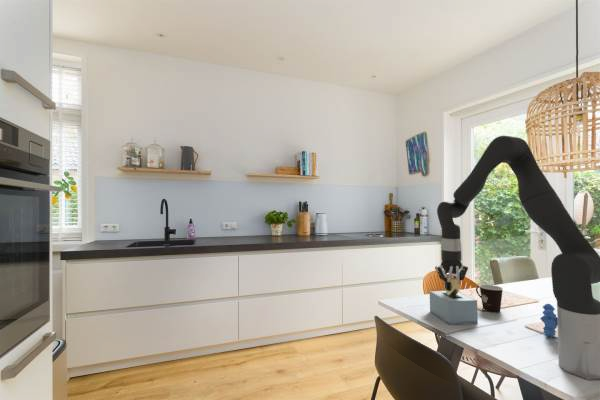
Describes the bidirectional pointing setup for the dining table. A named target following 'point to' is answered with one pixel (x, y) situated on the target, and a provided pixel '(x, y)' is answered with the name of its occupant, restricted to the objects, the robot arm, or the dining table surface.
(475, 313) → the box
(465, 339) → the dining table surface
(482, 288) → the coffee mug
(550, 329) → the grapes
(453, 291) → the tan wooden block
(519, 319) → the dining table surface
